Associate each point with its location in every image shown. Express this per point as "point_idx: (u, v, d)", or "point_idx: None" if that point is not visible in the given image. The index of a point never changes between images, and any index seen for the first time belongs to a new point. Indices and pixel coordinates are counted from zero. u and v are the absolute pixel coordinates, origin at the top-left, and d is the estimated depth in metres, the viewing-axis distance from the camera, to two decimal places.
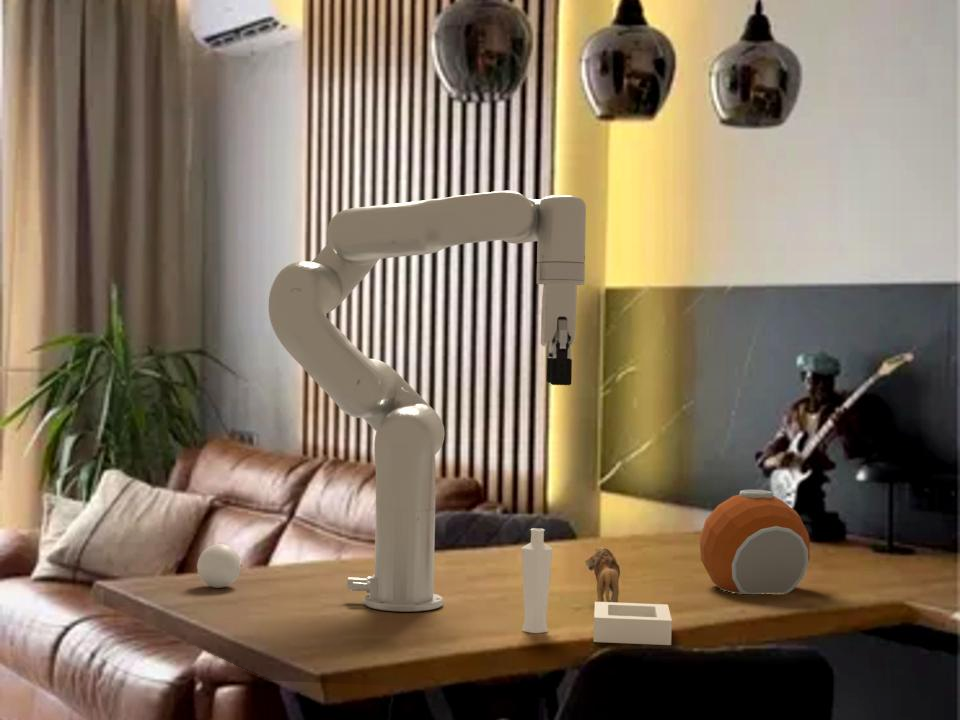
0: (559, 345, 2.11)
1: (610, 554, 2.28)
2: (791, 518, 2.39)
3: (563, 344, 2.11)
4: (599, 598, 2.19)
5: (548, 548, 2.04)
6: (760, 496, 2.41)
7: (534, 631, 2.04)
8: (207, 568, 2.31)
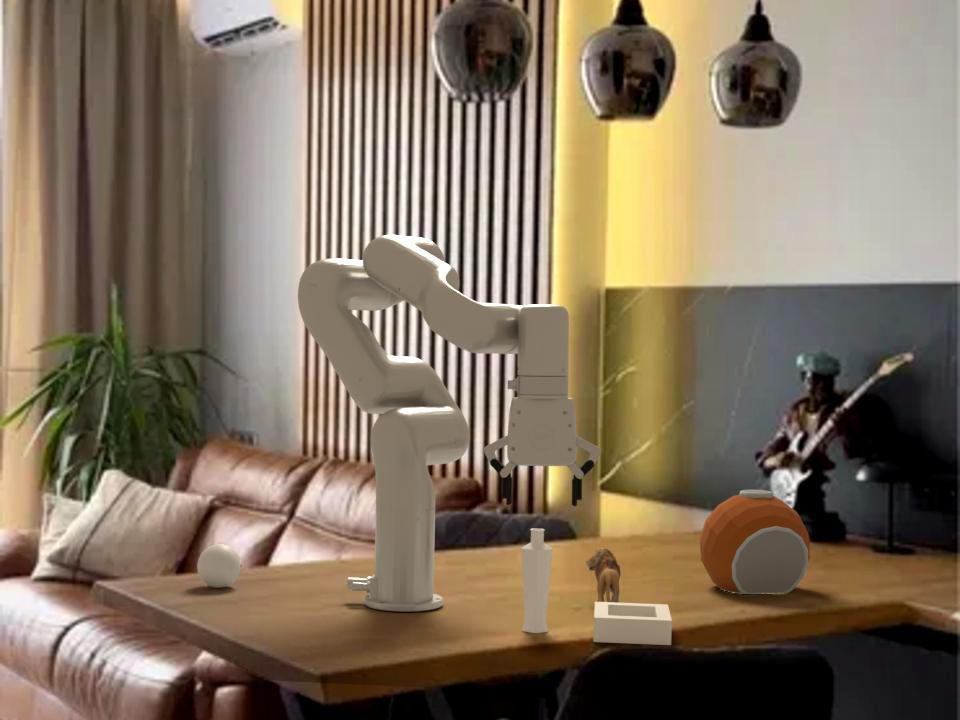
0: (594, 464, 2.04)
1: (610, 554, 2.27)
2: (791, 518, 2.39)
3: (595, 462, 2.04)
4: (600, 598, 2.19)
5: (548, 548, 2.04)
6: (760, 496, 2.41)
7: (534, 631, 2.04)
8: (207, 568, 2.31)
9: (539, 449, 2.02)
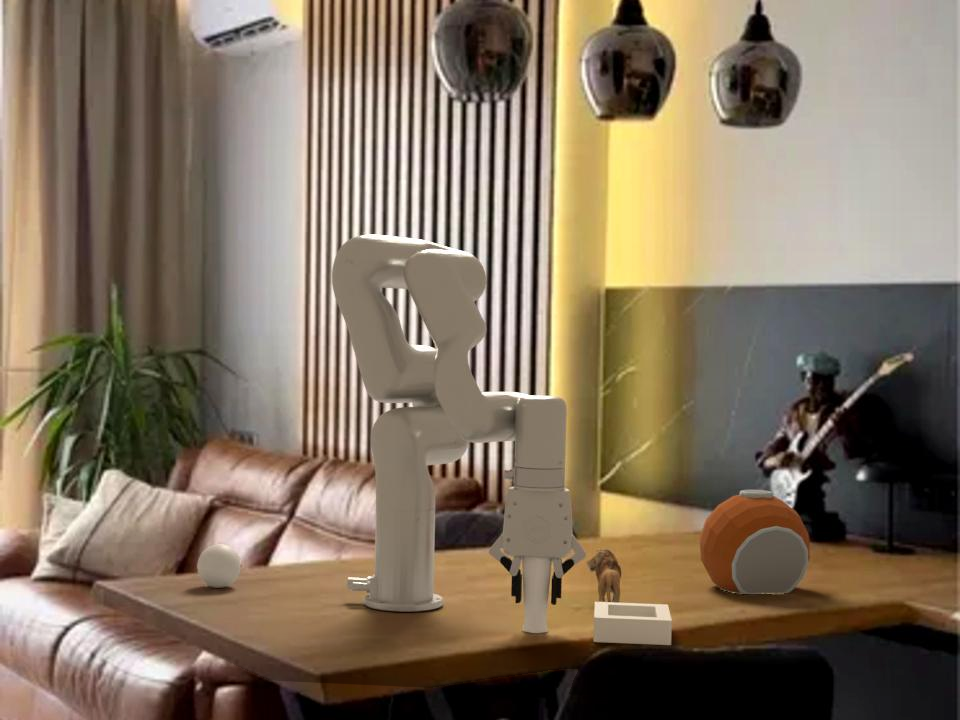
0: (573, 565, 2.04)
1: (611, 555, 2.27)
2: (791, 518, 2.39)
3: None
4: (600, 599, 2.18)
5: None
6: (760, 496, 2.41)
7: (534, 631, 2.04)
8: (207, 568, 2.31)
9: (534, 541, 2.03)
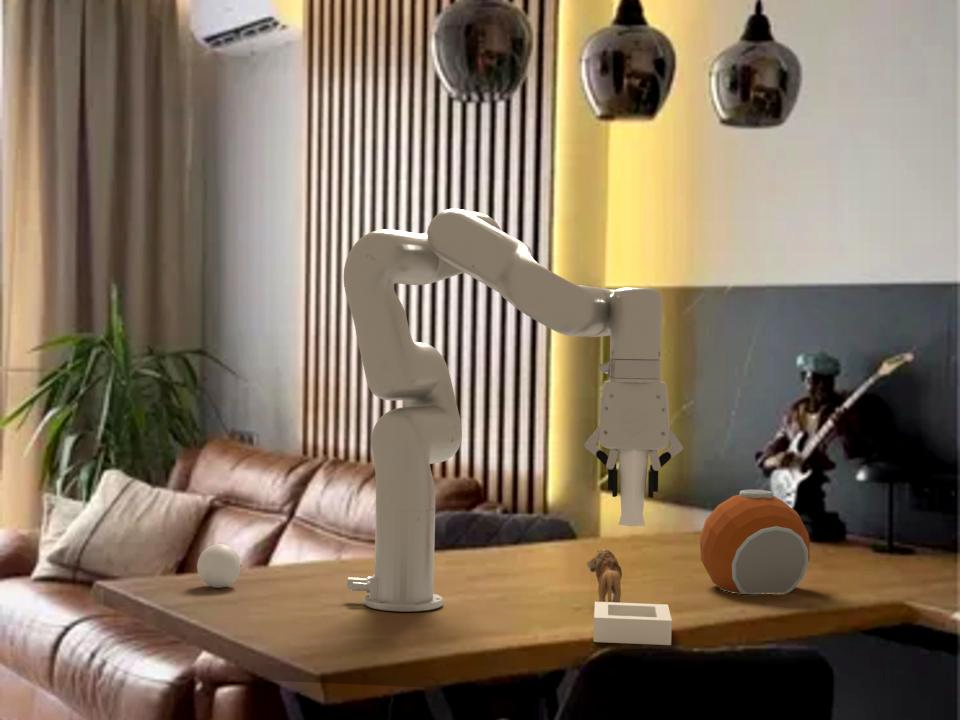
0: (670, 458, 2.03)
1: (612, 556, 2.26)
2: (791, 518, 2.39)
3: None
4: (601, 600, 2.17)
5: None
6: (760, 496, 2.41)
7: (631, 524, 2.02)
8: (207, 568, 2.31)
9: (632, 433, 2.01)
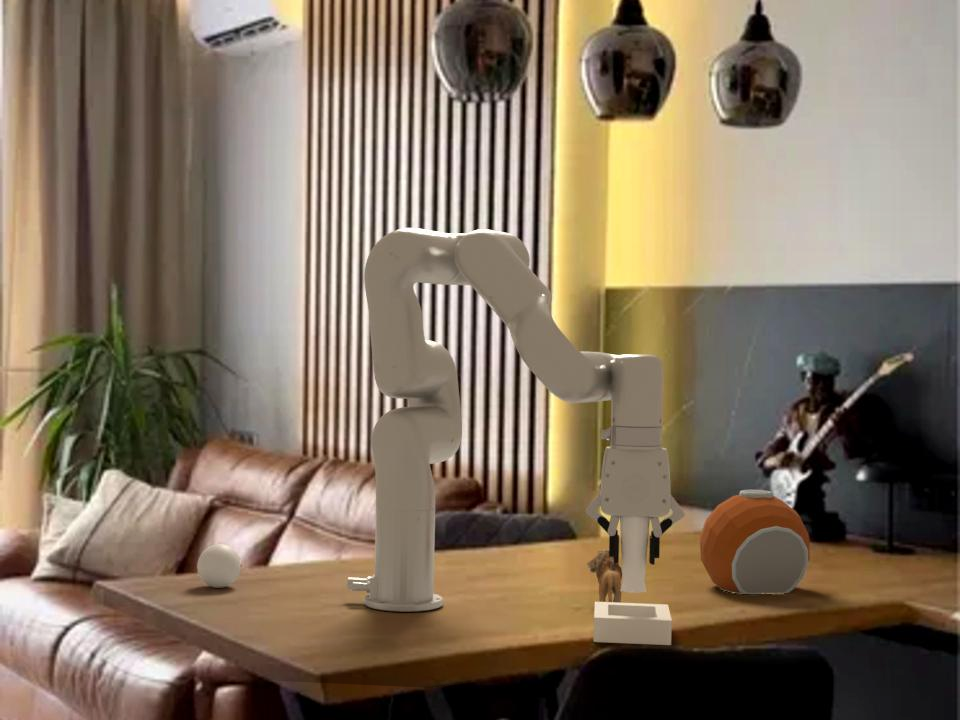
0: (671, 524, 2.03)
1: None
2: (791, 518, 2.39)
3: None
4: (602, 601, 2.17)
5: None
6: (760, 496, 2.41)
7: (633, 591, 2.02)
8: (207, 568, 2.31)
9: (633, 500, 2.01)
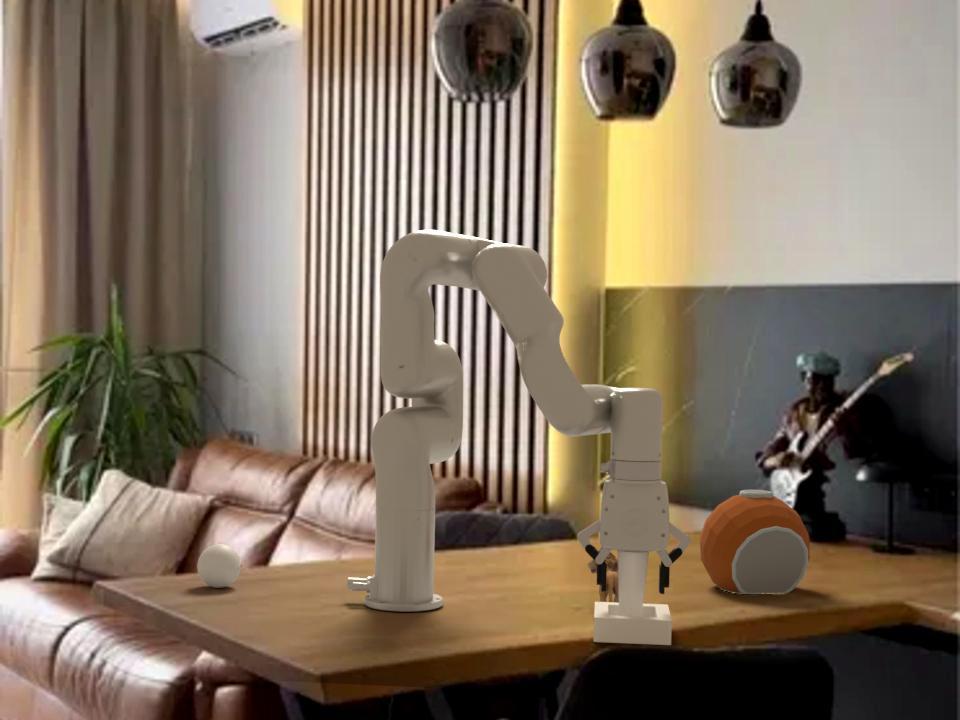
0: (682, 552, 2.03)
1: (613, 557, 2.25)
2: (791, 518, 2.39)
3: None
4: (602, 601, 2.16)
5: (644, 551, 2.03)
6: (760, 496, 2.41)
7: None
8: (207, 568, 2.31)
9: (632, 534, 2.01)
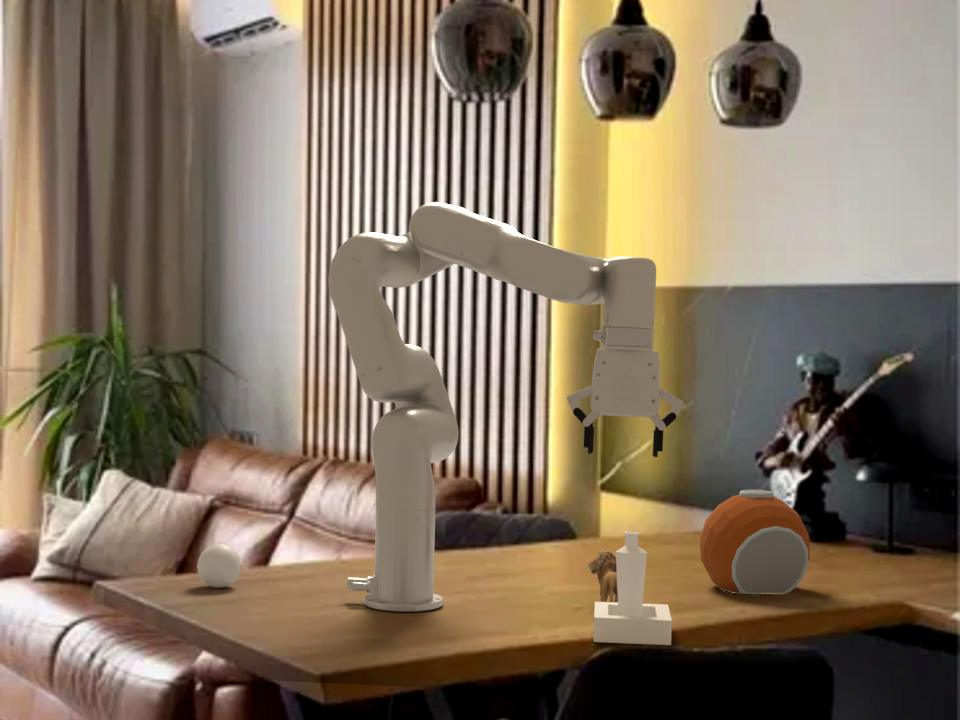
0: (676, 416, 2.06)
1: (613, 557, 2.24)
2: (791, 518, 2.39)
3: None
4: None
5: (643, 552, 2.03)
6: (760, 496, 2.41)
7: None
8: (207, 568, 2.31)
9: (623, 399, 2.05)
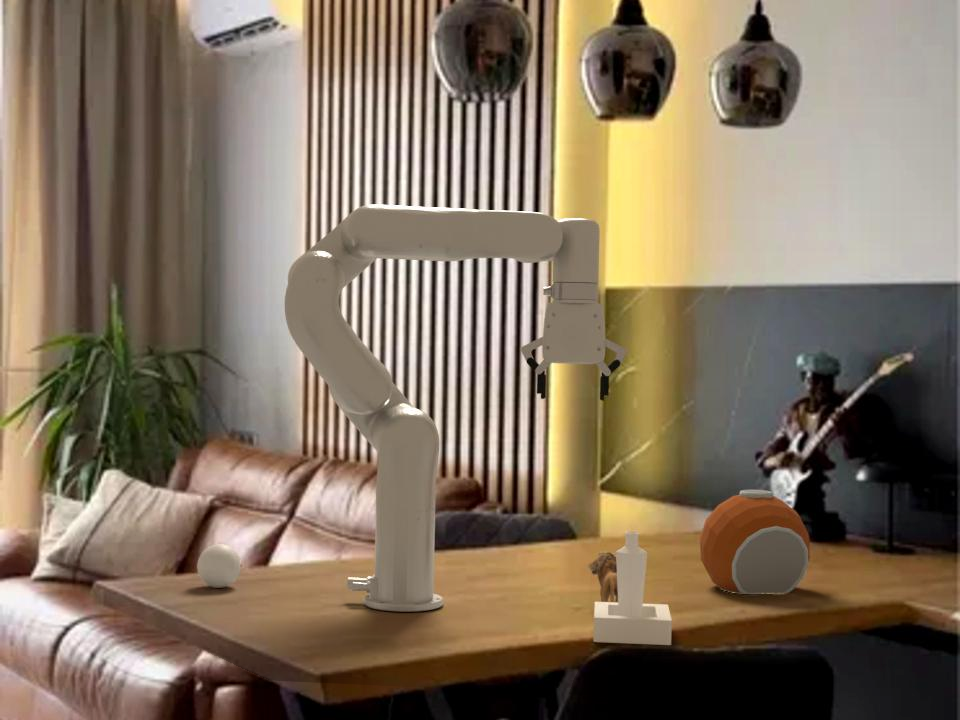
0: (620, 363, 2.26)
1: (614, 558, 2.24)
2: (791, 518, 2.39)
3: None
4: None
5: (643, 552, 2.03)
6: (760, 496, 2.41)
7: None
8: (207, 568, 2.31)
9: (571, 348, 2.25)
